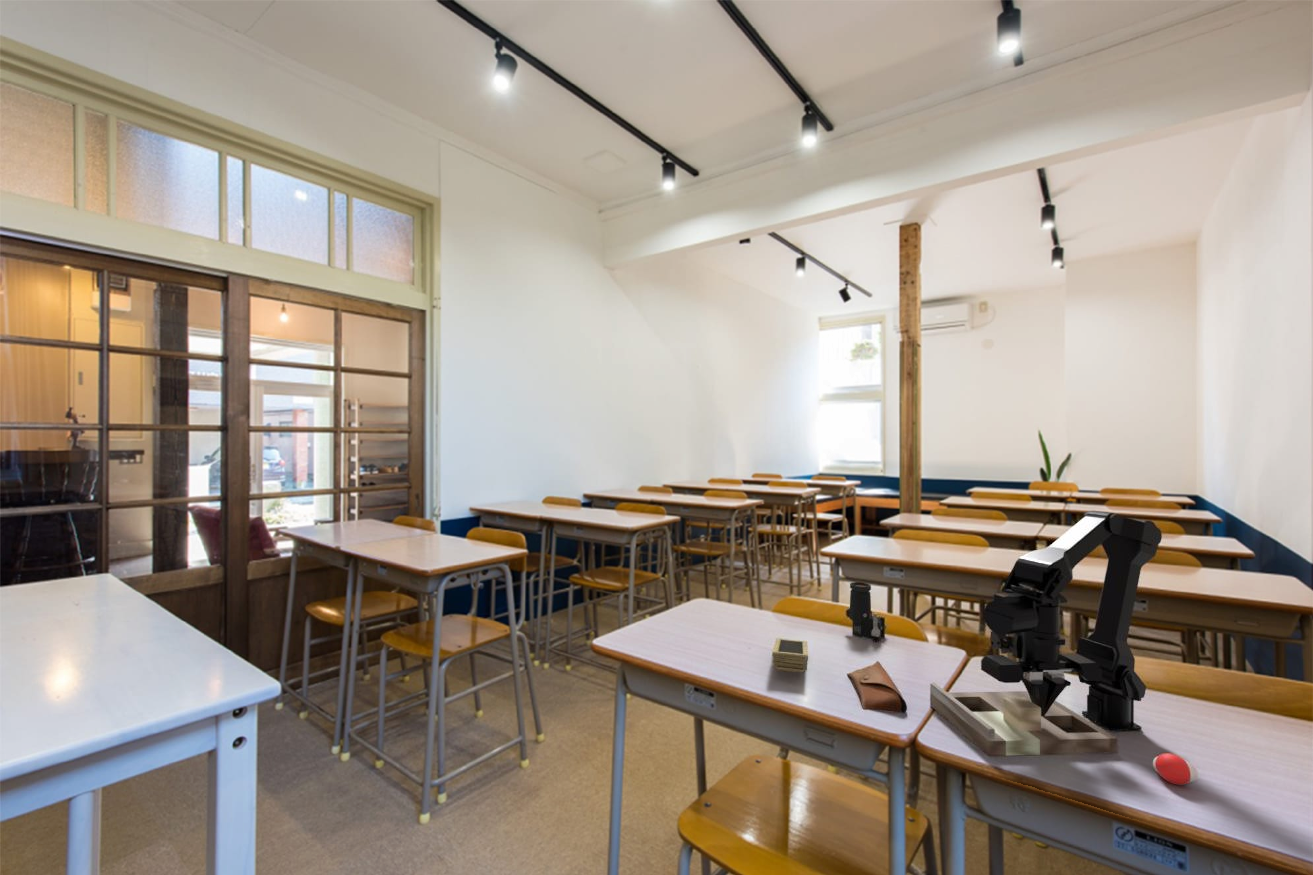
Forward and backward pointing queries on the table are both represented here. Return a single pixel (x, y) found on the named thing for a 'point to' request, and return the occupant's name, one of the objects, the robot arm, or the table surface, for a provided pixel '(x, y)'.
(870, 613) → the scope
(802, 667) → the box
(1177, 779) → the molecule
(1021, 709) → the block
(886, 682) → the sunglasses case
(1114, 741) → the trap box
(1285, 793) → the table surface
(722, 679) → the table surface
